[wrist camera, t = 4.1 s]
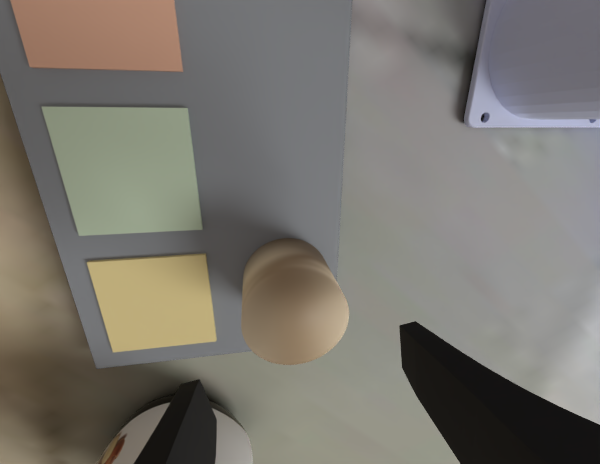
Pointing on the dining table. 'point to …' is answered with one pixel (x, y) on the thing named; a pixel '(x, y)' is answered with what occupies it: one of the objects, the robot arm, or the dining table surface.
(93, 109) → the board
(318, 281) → the disc
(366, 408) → the dining table surface
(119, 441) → the spread jar
